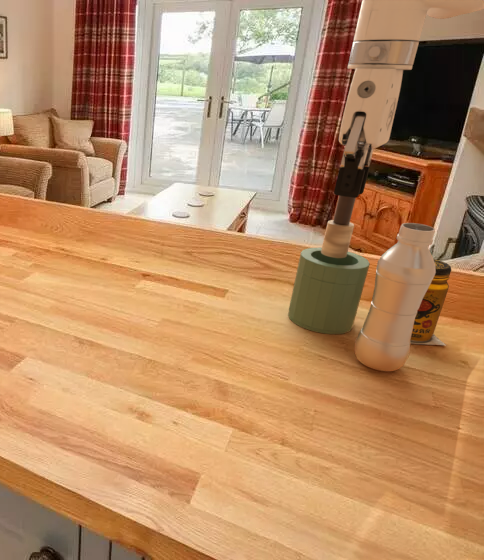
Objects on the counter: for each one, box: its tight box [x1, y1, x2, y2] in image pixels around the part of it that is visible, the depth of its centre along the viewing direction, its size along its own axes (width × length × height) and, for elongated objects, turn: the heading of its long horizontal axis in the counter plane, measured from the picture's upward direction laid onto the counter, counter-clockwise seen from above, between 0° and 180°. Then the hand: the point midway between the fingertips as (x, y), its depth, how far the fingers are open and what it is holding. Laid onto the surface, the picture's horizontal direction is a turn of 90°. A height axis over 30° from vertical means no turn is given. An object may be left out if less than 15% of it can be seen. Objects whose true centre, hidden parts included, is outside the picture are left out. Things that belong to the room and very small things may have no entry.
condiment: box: [410, 258, 452, 346], centre depth 75 cm, size 7×8×12 cm
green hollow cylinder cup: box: [287, 246, 371, 335], centre depth 79 cm, size 10×10×11 cm
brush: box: [321, 195, 357, 258], centre depth 73 cm, size 4×4×15 cm
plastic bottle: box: [353, 222, 436, 372], centre depth 65 cm, size 6×7×20 cm
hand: (348, 193), depth 72 cm, fingers closed on brush, 2 cm apart
